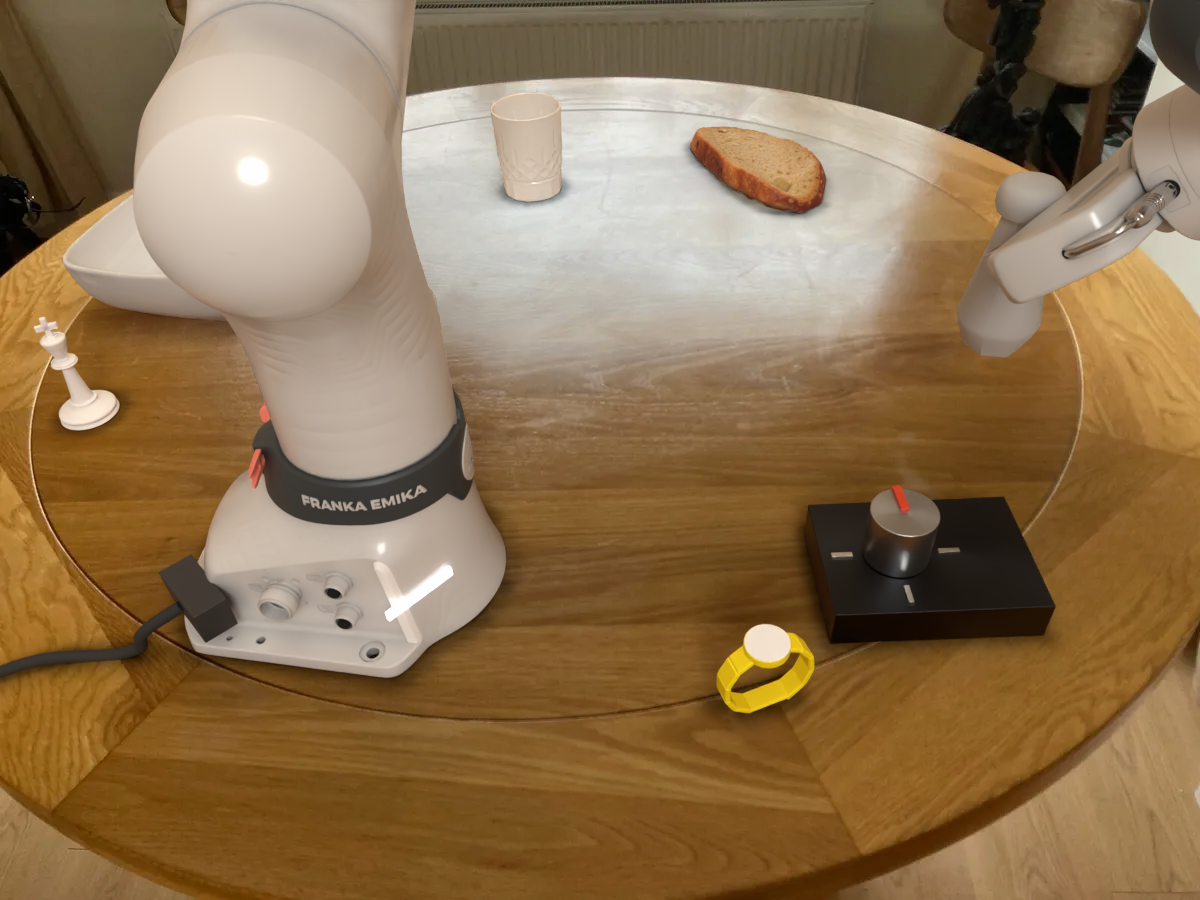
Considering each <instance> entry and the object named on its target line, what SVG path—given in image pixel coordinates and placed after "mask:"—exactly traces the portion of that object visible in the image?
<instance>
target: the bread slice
mask: <svg viewBox="0 0 1200 900" xmlns="http://www.w3.org/2000/svg"><path fill="white" fill-rule="evenodd" d="M689 147H690V148H689V149H690V150H691V151H692V152H693V154H694V155H695V157H696V159H697V161H699V162H701V164H702V166H704V167H706V168H707V169H708V171H710V172H711V173H713V174H714V176H715V177H717V179H719V180H721V182H723V183H724V184H725V185H726V186H728V187H730V188H731V189H732V190H734V191H735V192H736V193H741V194H743V195H744V196H745V197H746V198H747V199H748V200H752V201H753V200H754V201H757V202H758V203H760V204H762V205H764V206H765V207H766V208H770V209H775V210H776V211H777V210H778V211H782V212H792V213H796V214H801V213H802V214H804V213H807V212H808V211H810V210H812V209H815V208H816V207H818V206H819V205H820V204H822V202H823V200H824V197H825V192H826V186H827V175H826V172H825V169H824V167H823V164H822V162H821V161H820V159H819V158H818V157H817V156H816V155H815V154H814V152H813V151H812V150H810V149H808V147H805V146H802V145H801V144H800V143H798V142H795V141H794V140H791V139H787V138H780V137H777V136H776V135H773V134H770V133H767V132H762V131H758V130H756V129H749V128H742V127H737V126H706V127H705V126H704V127H700V128H698V129H697V130H696V131H695V133H694V135H693V137H692V139H691V142H690V144H689Z"/></svg>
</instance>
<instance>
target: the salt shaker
mask: <svg viewBox="0 0 1200 900" xmlns="http://www.w3.org/2000/svg"><path fill="white" fill-rule="evenodd" d="M1066 192H1067V190H1066V187H1065V185H1064V184H1063V183H1062V181H1061V180H1059V179H1058V178H1057V177H1056V176H1054V175H1051V174H1048V173H1045V172H1039V171H1032V170H1030V171H1029V170H1028V171H1018V172H1014V173H1012V174H1009V175H1008V176H1006V177H1005V178H1004V179H1003V180H1002V181H1001V182H1000V184H999V186H998V188H997V191H996V194H995V199H994V203H995V210H996V213H997V214H999V215H1000V217H999V220H998V223H997V224H996V227H995V229H994V231H993V233H992V236H991V237H990V239H989V241H988V243H987V246H986V247H985V249H984V252H983V254H982V255H981V258H980V259H979V261H978V264H977V266H976V268H975V270H974V271H973V275H971V278H970V280H969V282H968V284H967V286H966V288H965V290H964V292H963V295H962V297H961V298H960V300H959V303H958V305H957V307H956V317H957V325H958V328H959V333H960V336H961V340H962V344H963V345H965V346H966V347H968V348H969V349H970V350H972V351H973V352H974V353H976V354H978V355H979V356H981V357H992V358H994V357H995V358H1004V359H1005V358H1008V357H1010V356H1011V355H1013V354H1014V353H1015V352H1017V351H1019V349H1021V348H1022V347H1023V345H1025V344H1026V342H1028V341H1029V340H1031V338H1033V336H1034V335H1035V334H1036V332H1037V331H1038V329H1039V328H1040V326H1041V324H1042V321H1043V320H1042V319H1043V308H1044V296H1042V297H1040V298H1038V299H1035V300H1033V301H1030V302H1028V303H1023V304H1015V303H1012V302H1010V301H1009V299H1008V298H1007V297H1006V295H1005V294H1004V292H1003V290H1002V289H1001V287H1000V286H999V284H998V282H997V281H996V279H995V278H994V277H992V276H991V275H990V274H989V272H988V270H987V268H986V267H985V265H984V263H983V258H984V256H985V255H986V254H988V253H989V252H990V251H992V250H993V249H994V248H996V247H998V246H1000V245H1003V244H1004V243H1005V242H1006V241H1007V240H1009V239H1010V238H1011V237H1012V236H1014V235H1015V234H1016V233H1017V232H1018V231H1020V230H1021V229H1022V228H1023V227H1025V226H1026V225H1027V224H1028V223H1029V222H1031V221H1032V220H1033V219H1034V218H1036V217H1037V216H1038V215H1039V214H1040V213H1042V212H1043V211H1044V210H1045V209H1047V208H1048V207H1049V206H1050V205H1052V204H1053V203H1054V202H1055V201H1057V200H1058V199H1059V198H1060V197H1062V196H1063V195H1064V194H1065V193H1066Z"/></svg>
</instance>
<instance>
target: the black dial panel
mask: <svg viewBox="0 0 1200 900" xmlns="http://www.w3.org/2000/svg"><path fill="white" fill-rule="evenodd" d="M931 500H932V501H933V502H934V503H935V505H936V506H937V508H938V510H939V512H940V523H939V526H938V530H937V534H936V537H935V541H934V544H933V548H932V552H931V555H930V559H929V562H928V565H927V566H926V568H925V569H924V570H923V571H922V572H920V573H919V574H917V575H914V576H911V577H905V578H899V577H891V576H888V575H885V574H882V573H880V572H878V571H877V570H875V569H874V568H872V567H871V566H870V565H869V564H868V563H867V561H866V560H865V558H864V556H863V553H862V544H863V539H864V534H865V529H866V524H867V519H868V514H869V510H870V505H871V502H872V501H864V502H861V501H860V502H840V503H837V502H836V503H815V504H814V503H812V504H808V505H807V509H806V516H805V523H804V531H803V535H804V538H805V540H804V541H805V545H806V548H807V552H808V556H809V560H810V564H811V569H812V574H813V577H814V582H815V586H816V590H817V594H818V598H819V602H820V606H821V607H820V608H821V611H822V615H823V619H824V623H825V628H826V632H827V636H828V640H829V644H832V645H833V644H852V643H853V644H854V643H855V644H856V643H857V644H858V643H880V642H881V643H882V642H908V641H932V640H935V641H936V640H958V639H959V640H960V639H984V638H986V639H987V638H1011V637H1034V636H1036V637H1037V636H1044V635H1045V633H1046V631H1047V628H1048V626H1049V624H1050V622H1051V620H1052V617H1053V614H1054V612H1055V610H1056V608H1057V606H1056V603H1055V601H1054V599H1053V597H1052V595H1051V593H1050V591H1049V588H1048V586H1047V584H1046V582H1045V580H1044V577H1043V576H1042V573H1041V572H1040V569H1039V567H1038V564H1037V563H1036V561H1035V559H1034V557H1033V555H1032V552H1031V550H1030V548H1029V546H1028V544H1027V541H1026V540H1025V538H1024V535H1023V533H1022V531H1021V528H1020V527H1019V525H1018V523H1017V520H1016V518H1015V516H1014V514H1013V512H1012V509H1011V508H1010V506H1009V504H1008V501H1007V499H1006V497H1005V496H983V497H980V496H979V497H961V498H960V497H958V498H935V499H933V498H931Z"/></svg>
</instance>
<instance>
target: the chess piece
mask: <svg viewBox="0 0 1200 900" xmlns="http://www.w3.org/2000/svg"><path fill="white" fill-rule="evenodd" d="M38 322H39V324H37V325H34V326H33V329H34V332H35V333H36V334H38V333H42V332H43V333H45V334H44V335H43V336H41V338H40V339H39V345H40V346H41V347H42V348H43V349H44V350H46V352H48V353H49V354H50V356H52V357H53V358H52V360H51V361H50V367H51V369H52V370H55V371H61V372H62V375H63V377H64V381H65V384H66V386H67V389H68V392H69V395H70V398H69V399H68V400H66V401H65V402H64V403H63V404H62V405H61V407H60V408H59V410H58V418H59V421H60V424H61V425H62V426H63V427H64V428H65V429H67V430H70V431H86V430H87V431H88V430H91V429H94V428H97V427H100V426H102V425H104V424H105V423H107V422H108V421H110V420H112V419H113V418H114V417H115V416H116V415H117V413H118V412H119V410H120V401H119V400H118V398H117V397H116V396H115V394H114V393H113V392H111V391H108V390H105V389H90V388H89V386H88V385H87V384H86V382H85V381H84V379H83V378H82V377H81V375H80V374H79V372H78V371H77V369H76V367H75V365H76V364H78V361H79V357H78V356H77V355H76V354H75V353H72V352H68V344H67V342H68V341H67V335H66V334H65V333H64V332H62V331H53V330H57V329H59V324H58V322H57V320H55V321H51V322H48V320H47V318H46V316H42V317H39V318H38Z"/></svg>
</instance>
